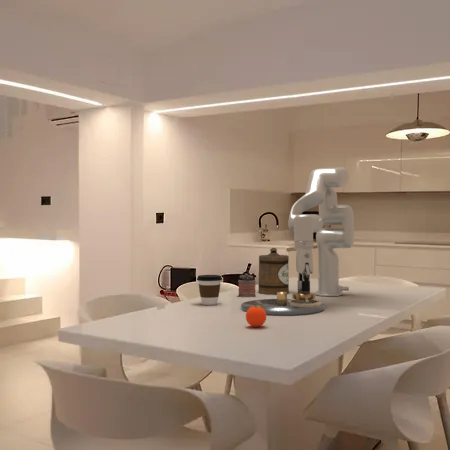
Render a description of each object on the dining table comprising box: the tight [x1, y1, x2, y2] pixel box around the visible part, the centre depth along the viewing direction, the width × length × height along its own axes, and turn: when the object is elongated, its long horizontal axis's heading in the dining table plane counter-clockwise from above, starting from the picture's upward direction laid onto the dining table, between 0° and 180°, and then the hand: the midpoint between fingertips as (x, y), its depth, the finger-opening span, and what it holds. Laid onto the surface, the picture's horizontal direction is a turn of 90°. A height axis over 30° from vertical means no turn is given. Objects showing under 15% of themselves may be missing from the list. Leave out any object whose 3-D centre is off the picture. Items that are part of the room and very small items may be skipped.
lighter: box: [237, 274, 257, 298], centre depth 254 cm, size 8×3×10 cm, turn 84°
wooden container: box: [258, 247, 290, 296], centre depth 268 cm, size 15×15×22 cm
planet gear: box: [291, 280, 316, 300], centre depth 220 cm, size 9×9×7 cm
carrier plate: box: [240, 292, 325, 317], centre depth 219 cm, size 33×33×6 cm
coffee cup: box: [196, 274, 223, 306], centre depth 232 cm, size 11×11×12 cm
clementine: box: [245, 306, 267, 328], centre depth 183 cm, size 8×7×7 cm
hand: (303, 289), depth 220 cm, fingers closed on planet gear, 4 cm apart
